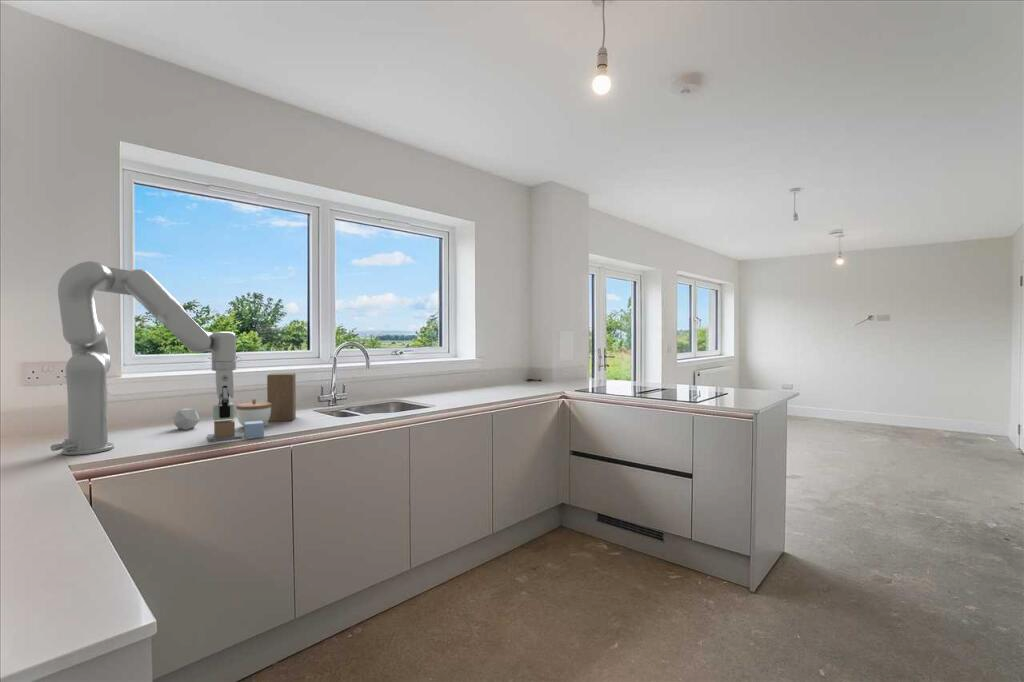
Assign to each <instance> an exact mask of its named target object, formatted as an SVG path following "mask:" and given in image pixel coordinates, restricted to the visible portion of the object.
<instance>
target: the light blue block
mask: <svg viewBox="0 0 1024 682" xmlns="http://www.w3.org/2000/svg"><path fill="white" fill-rule="evenodd" d="M243 437H244V438H245V439H249V438H260V437H265V425H264V422H263V421H249V422H244V426H243Z"/></svg>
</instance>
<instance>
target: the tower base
mask: <svg viewBox="0 0 1024 682" xmlns="http://www.w3.org/2000/svg"><path fill="white" fill-rule="evenodd" d="M213 421H214V422H213V423H214V424H213V429H214V431H213V433H210V434H207V439H208V440H209V441H211V442H219V441H218V440H221V441H228V440H227V439H230V440H239V439H242V434H241V432H240V430H239V431H236V430H235V426H236V425H235V420H234V419H224V420H213ZM209 441H208V442H209Z"/></svg>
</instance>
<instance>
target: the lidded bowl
mask: <svg viewBox="0 0 1024 682" xmlns="http://www.w3.org/2000/svg"><path fill="white" fill-rule="evenodd" d="M251 401H252V402H244V403H238V404H236V405H235V409H236V417H237V420H238V423H239V424H240V426H242V427H244V422H249V421H263V422H264V426H265V425H267V423H269V422H268V420H269V418H270V415H271V406H272V404H271V403H269V402H266V401H257V400H256V399H255V398H253V399H251Z"/></svg>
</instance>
